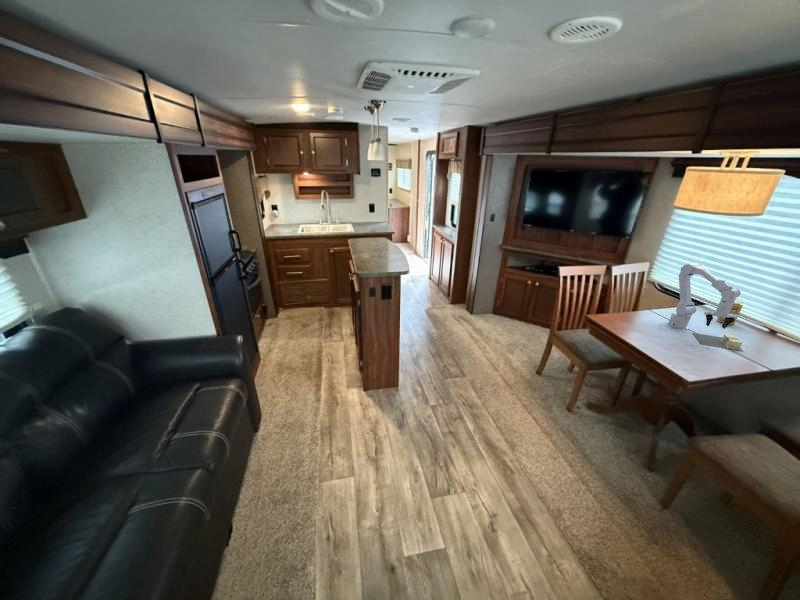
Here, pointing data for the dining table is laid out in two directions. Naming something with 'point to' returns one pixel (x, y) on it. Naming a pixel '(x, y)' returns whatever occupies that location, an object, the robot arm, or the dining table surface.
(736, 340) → the maple block
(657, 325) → the dining table surface
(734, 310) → the candy box
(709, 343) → the rubber mat
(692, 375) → the dining table surface
